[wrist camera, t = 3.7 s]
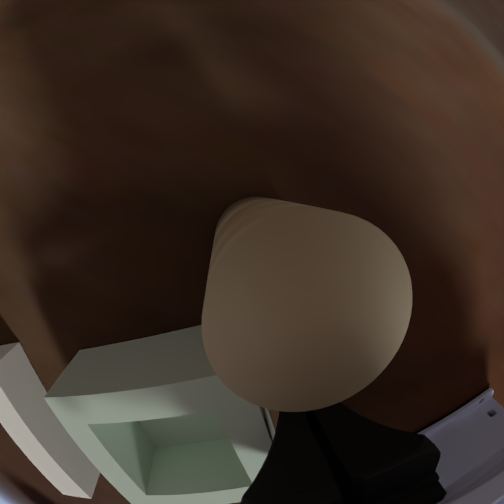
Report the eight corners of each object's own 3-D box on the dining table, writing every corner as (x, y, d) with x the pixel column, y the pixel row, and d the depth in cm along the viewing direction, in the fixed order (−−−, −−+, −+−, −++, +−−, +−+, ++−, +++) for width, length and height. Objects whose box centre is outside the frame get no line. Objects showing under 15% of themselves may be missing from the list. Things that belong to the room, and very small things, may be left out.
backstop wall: (19, 341, 12) (-10, 368, 9) (101, 466, 14) (91, 498, 11) (-5, 346, 12) (-32, 370, 9) (74, 465, 14) (63, 494, 11)
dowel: (285, 187, 12) (401, 188, 4) (303, 264, 12) (412, 372, 4) (205, 208, 11) (169, 247, 4) (226, 285, 12) (237, 430, 4)
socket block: (238, 315, 12) (245, 367, 9) (276, 437, 14) (290, 491, 10) (79, 349, 12) (43, 397, 8) (145, 457, 14) (135, 507, 10)
